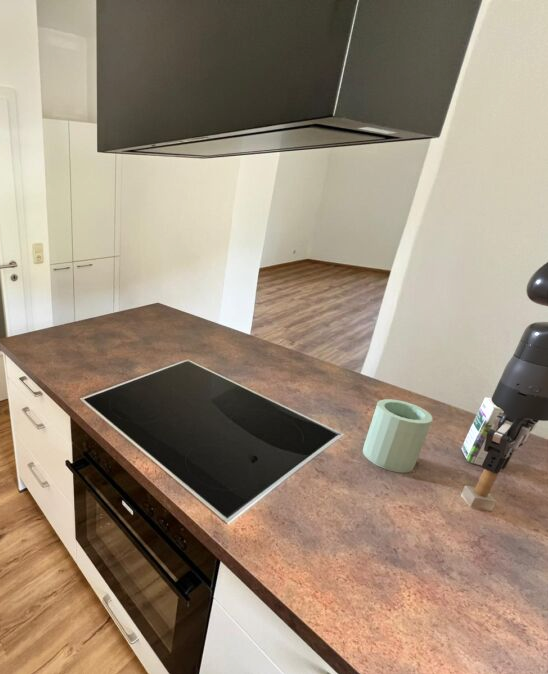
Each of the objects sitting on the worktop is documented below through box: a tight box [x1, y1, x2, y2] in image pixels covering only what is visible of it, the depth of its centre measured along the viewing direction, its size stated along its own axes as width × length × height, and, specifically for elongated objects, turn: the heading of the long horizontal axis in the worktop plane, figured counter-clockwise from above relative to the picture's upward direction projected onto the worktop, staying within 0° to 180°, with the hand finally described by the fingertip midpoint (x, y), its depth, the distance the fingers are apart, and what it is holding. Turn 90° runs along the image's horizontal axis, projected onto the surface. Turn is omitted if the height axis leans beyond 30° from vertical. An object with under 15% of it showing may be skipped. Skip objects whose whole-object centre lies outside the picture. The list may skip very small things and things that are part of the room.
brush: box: [460, 468, 500, 512], centre depth 67 cm, size 3×3×15 cm
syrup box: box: [460, 397, 504, 471], centre depth 80 cm, size 6×6×14 cm
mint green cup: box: [362, 398, 434, 474], centre depth 81 cm, size 9×9×13 cm
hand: (492, 467), depth 66 cm, fingers closed on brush, 2 cm apart
